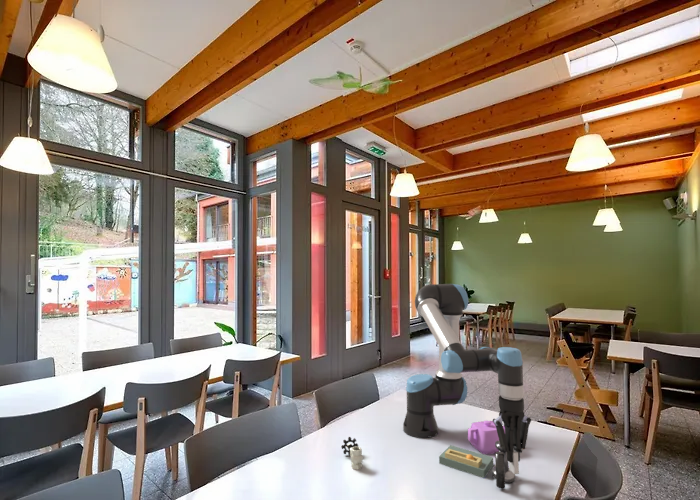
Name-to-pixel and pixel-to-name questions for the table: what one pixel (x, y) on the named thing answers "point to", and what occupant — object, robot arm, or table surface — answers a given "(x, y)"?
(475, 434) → the teapot
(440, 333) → the robot arm
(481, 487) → the table surface
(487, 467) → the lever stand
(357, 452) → the valve
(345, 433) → the table surface
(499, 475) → the cam capstan
